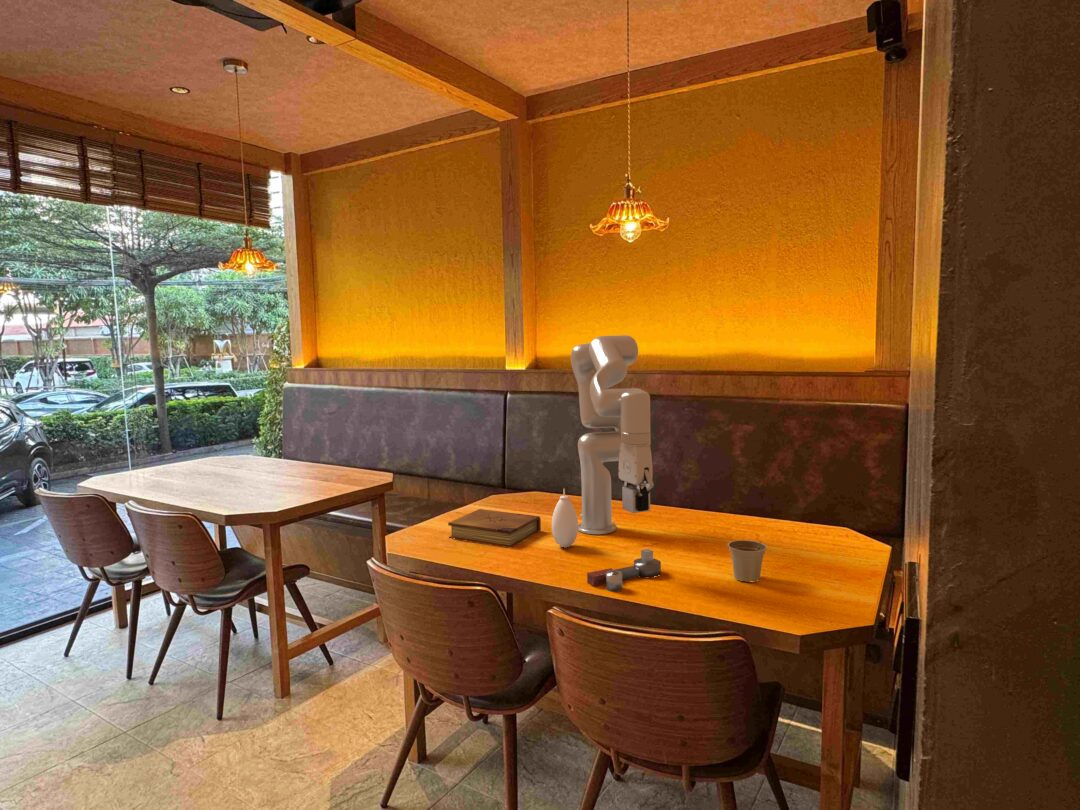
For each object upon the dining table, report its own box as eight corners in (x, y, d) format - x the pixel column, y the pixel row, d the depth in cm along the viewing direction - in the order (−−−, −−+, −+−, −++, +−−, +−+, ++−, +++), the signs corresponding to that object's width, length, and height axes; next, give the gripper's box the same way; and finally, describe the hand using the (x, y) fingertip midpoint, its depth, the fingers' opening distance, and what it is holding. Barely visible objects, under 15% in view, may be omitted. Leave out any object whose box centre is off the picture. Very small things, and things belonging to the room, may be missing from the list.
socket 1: (603, 587, 162) (602, 571, 162) (617, 584, 164) (616, 568, 164) (611, 593, 159) (611, 576, 158) (625, 590, 160) (625, 573, 160)
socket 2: (622, 508, 171) (622, 485, 171) (639, 506, 173) (639, 483, 173) (632, 513, 167) (632, 489, 166) (650, 510, 169) (650, 486, 168)
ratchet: (583, 580, 168) (583, 556, 167) (650, 567, 176) (650, 544, 175) (597, 589, 161) (596, 565, 161) (666, 575, 170) (666, 552, 169)
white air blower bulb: (576, 551, 190) (575, 490, 188) (550, 550, 192) (548, 490, 190) (580, 543, 198) (579, 484, 196) (554, 542, 199) (553, 484, 198)
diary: (540, 532, 212) (540, 515, 211) (511, 550, 196) (510, 531, 195) (481, 524, 223) (481, 507, 222) (448, 539, 206) (448, 521, 206)
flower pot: (736, 569, 172) (736, 537, 172) (772, 577, 167) (772, 544, 166) (721, 580, 165) (721, 546, 164) (758, 588, 159) (758, 553, 158)
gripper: (606, 436, 175) (608, 502, 176) (640, 444, 159) (641, 517, 161) (631, 433, 178) (632, 499, 179) (666, 442, 162) (667, 513, 164)
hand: (636, 507), depth 170 cm, fingers closed on socket 2, 5 cm apart
